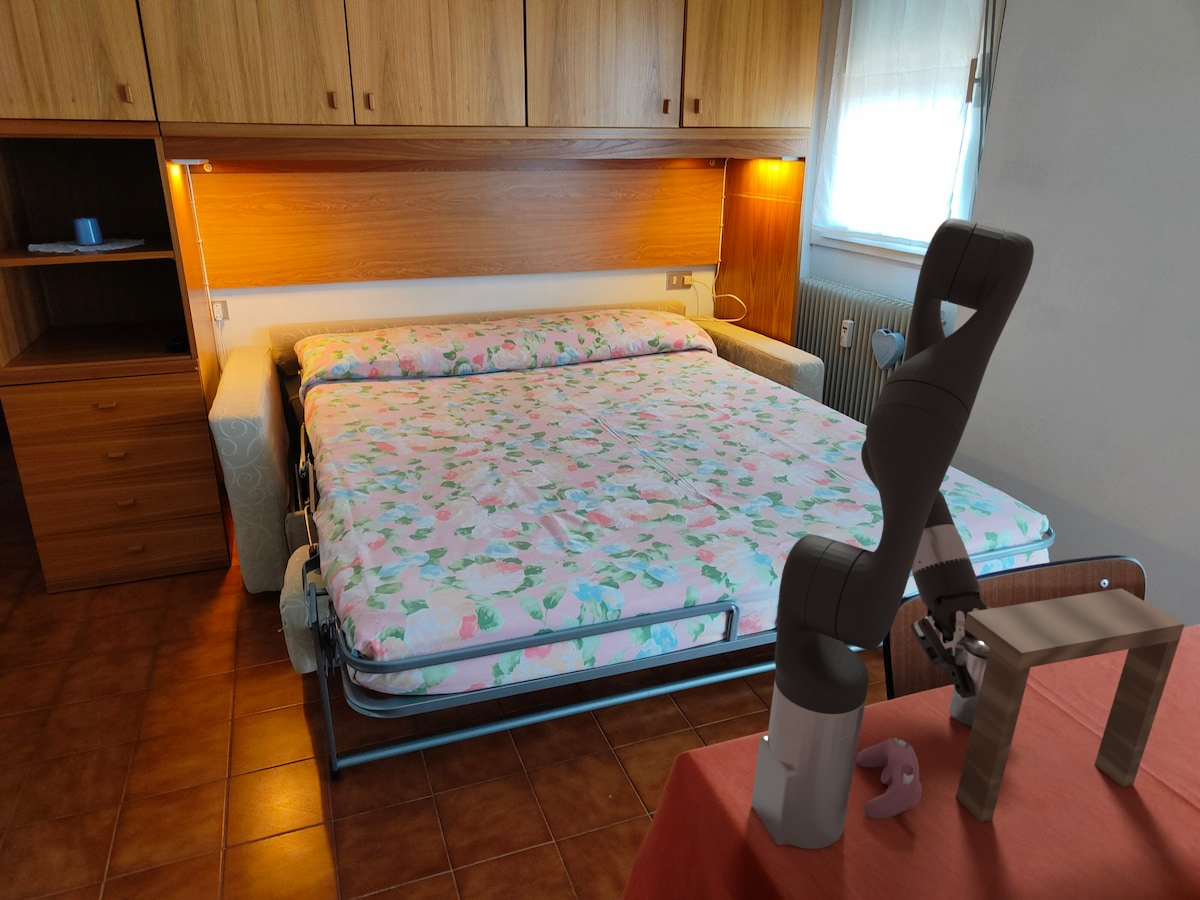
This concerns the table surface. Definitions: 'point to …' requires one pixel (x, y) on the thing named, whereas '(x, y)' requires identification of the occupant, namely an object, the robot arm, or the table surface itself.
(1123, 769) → the walnut shelf
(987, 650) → the salt shaker
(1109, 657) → the table surface
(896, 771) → the video game controller
